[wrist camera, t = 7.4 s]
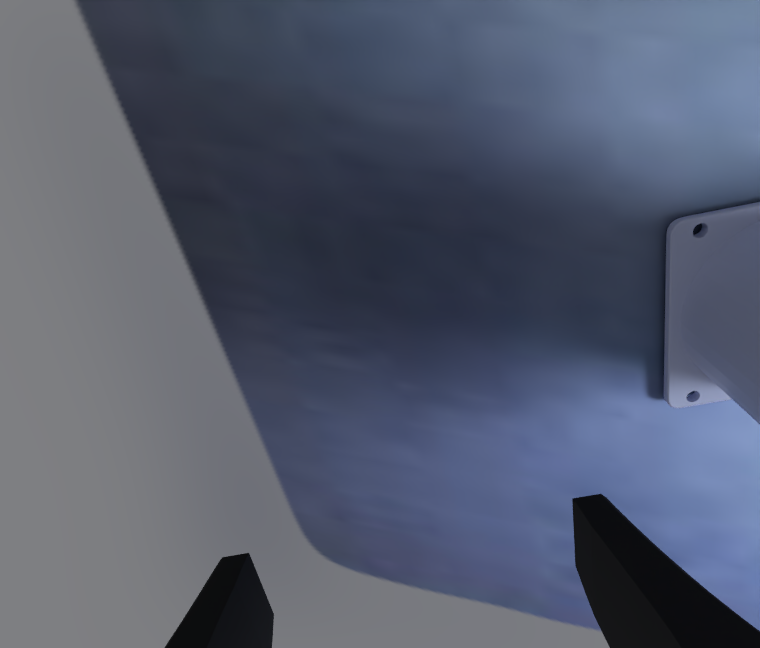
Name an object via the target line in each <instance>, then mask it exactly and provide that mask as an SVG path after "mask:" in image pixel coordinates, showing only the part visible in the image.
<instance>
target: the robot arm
mask: <svg viewBox="0 0 760 648" xmlns="http://www.w3.org/2000/svg"><path fill="white" fill-rule="evenodd" d="M700 223H702V229H701V231H700V232H699V233H697V234H695V235H693V229H694V228H695V226H696V225H698V224H700ZM692 391H694V393H693V394H692V395H691V396H688V397H687V395H688V394H689V393H690V392H692ZM664 399H665V401H666V402H667V403H668V404H669V405H670V406H671V407H673V408H683V407H689V406H695V405H701V404H707V403H714V402H720V401H726V400H732V399H733V400H734V401H735V402H736V403H737V404H738V405H739V406H740V407H741V408H742V409H744V410H745V411H746V412H747V413H748V414H749V415H750V416H751V417H752V418H753V419H754V420H756V421H757V422H758V423H759V424H760V202H756V203H751V204H746V205H741V206H736V207H731V208H726V209H721V210H716V211H711V212H706V213H700V214H695V215H690V216H685V217H681V218H678V219H676V220H674V221H673V222H672V223H671V224H670V225H669V227H668V229H667V233H666V289H665V349H664ZM573 521H574V542H575V564H576V568H577V571H578V574H579V576H580V579H581V582H582V585H583V587H584V590H585V593H586V595H587V598H588V601H589V603H590V606H591V609H592V611H593V614H594V616H595V618H596V620H597V622H598V624H599V626H600V628H601V630H602V632H603V634H604V636H605V639H606V640H607V643H608V645H609V647H610V648H760V631H759V630H757V629H756V628H755V627H753V626H752V625H751V624H749V623H748V622H747V621H745V620H744V619H743V618H741V617H740V616H739V615H737V614H736V613H735V612H734V611H732V610H731V609H730V608H729V607H727V606H726V605H725V604H724V603H722V602H721V601H720V600H719V599H717V598H716V597H715V596H714V595H712V594H711V593H710V592H709V591H707V590H706V589H705V588H704V587H703V586H701V585H700V584H699V583H698V582H697V581H695V580H694V579H693V578H692V577H691V576H690V575H688V574H687V573H686V572H685V571H684V570H683V569H682V568H680V567H679V566H678V565H677V564H676V563H675V562H674V561H672V560H671V559H670V558H669V557H668V556H667V555H666V554H664V553H663V552H662V551H661V550H660V549H659V548H658V547H657V546H656V545H655V544H653V543H652V542H651V541H650V540H649V539H648V538H647V537H646V536H645V535H644V534H643V533H642V532H641V531H640V530H639V529H637V528H636V527H635V526H634V525H633V524H632V523H631V522H630V521H629V520H628V519H627V518H626V517H625V516H624V515H623V514H622V513H621V512H620V511H619V510H618V509H617V508H616V507H615V506H614V505H613V504H612V503H611V502H610V501H609V500H608V499H607V498H606V497H605V496H603V495H602V494H597V495H591V496H585V497H579V498H574V499H573ZM273 619H274V614H273V611H272V609H271V606H270V604H269V601H268V599H267V596H266V594H265V591H264V589H263V587H262V584H261V582H260V579H259V577H258V574H257V572H256V569H255V567H254V564H253V562H252V559H251V557H250V555H249V553H246V554H240V555H234V556H228V557H223V558H222V559H221V560H220V562H219V563H218V565H217V566H216V568H215V569H214V571H213V573H212V574H211V576H210V577H209V579H208V581H207V582H206V584H205V585H204V587H203V589H202V590H201V592H200V593H199V595H198V597H197V598H196V600H195V602H194V603H193V605H192V606H191V608H190V609H189V611H188V613H187V614H186V616H185V617H184V619H183V621H182V622H181V624H180V625H179V627H178V628H177V630H176V631H175V633H174V634H173V636H172V637H171V639H170V640H169V642H168V643H167V645H166V646H165V648H272V636H273Z"/></svg>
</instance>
